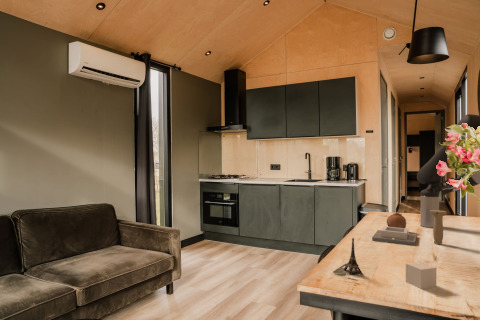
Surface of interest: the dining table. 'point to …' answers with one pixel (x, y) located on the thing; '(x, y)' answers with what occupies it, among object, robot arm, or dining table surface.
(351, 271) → the eiffel tower figurine
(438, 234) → the handle
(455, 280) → the dining table surface
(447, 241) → the dining table surface
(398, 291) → the dining table surface
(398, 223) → the onion
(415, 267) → the beige cube
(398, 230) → the square socket base
